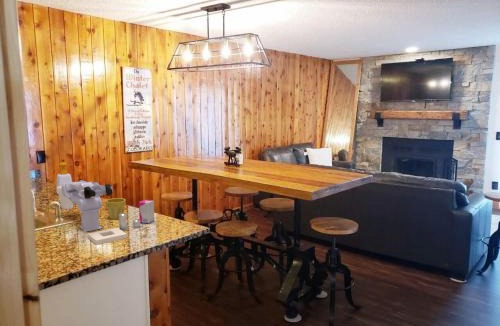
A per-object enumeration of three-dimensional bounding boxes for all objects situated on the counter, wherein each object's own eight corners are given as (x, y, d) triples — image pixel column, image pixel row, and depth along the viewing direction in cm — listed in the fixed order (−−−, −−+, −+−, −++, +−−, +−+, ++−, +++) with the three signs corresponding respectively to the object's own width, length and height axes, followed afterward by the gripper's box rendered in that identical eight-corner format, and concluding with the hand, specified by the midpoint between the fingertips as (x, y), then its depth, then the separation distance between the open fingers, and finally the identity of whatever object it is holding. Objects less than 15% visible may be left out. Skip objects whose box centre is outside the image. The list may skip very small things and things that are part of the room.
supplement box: (154, 221, 205) (154, 200, 203) (149, 224, 199) (148, 202, 197) (145, 220, 206) (144, 199, 204) (139, 223, 200) (138, 202, 199)
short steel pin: (131, 226, 195) (131, 220, 194) (138, 225, 197) (138, 218, 197) (134, 228, 192) (134, 221, 192) (141, 227, 194) (141, 220, 194)
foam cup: (69, 210, 225) (68, 188, 223) (55, 209, 226) (53, 188, 224) (79, 206, 234) (77, 185, 232) (65, 205, 235) (63, 184, 234)
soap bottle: (69, 190, 276) (66, 160, 273) (74, 194, 266) (72, 162, 262) (54, 192, 270) (52, 161, 267) (59, 196, 260) (57, 163, 256)
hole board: (87, 237, 178) (87, 233, 178) (117, 231, 187) (117, 227, 187) (96, 244, 169) (96, 240, 169) (127, 237, 178) (127, 233, 178)
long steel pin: (118, 229, 190) (117, 213, 189) (125, 228, 193) (124, 212, 192) (121, 231, 188) (120, 215, 187) (128, 229, 190) (127, 214, 189)
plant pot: (130, 216, 213) (129, 199, 212) (116, 221, 204) (115, 203, 203) (116, 213, 218) (115, 197, 217) (102, 218, 209) (101, 201, 207)
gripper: (76, 183, 180) (86, 186, 169) (107, 180, 189) (118, 182, 179) (77, 198, 180) (87, 201, 170) (108, 194, 190) (119, 197, 179)
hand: (103, 192), depth 174 cm, fingers open, 7 cm apart
